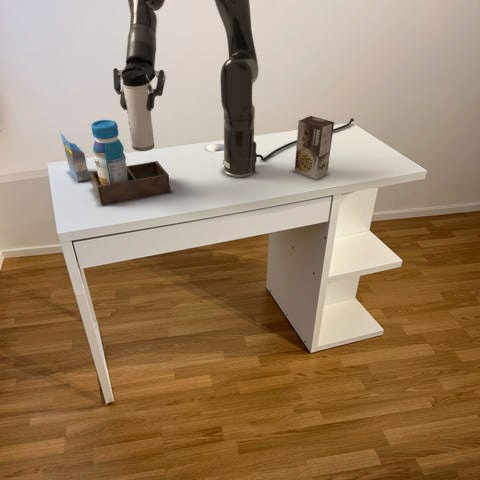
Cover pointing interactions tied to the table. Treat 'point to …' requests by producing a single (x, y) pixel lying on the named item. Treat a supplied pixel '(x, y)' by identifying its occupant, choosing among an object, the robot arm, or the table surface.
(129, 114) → the travel mug
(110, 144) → the beverage bottle
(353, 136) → the table surface
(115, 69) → the robot arm
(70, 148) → the blue hanging retail box
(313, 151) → the coffee box
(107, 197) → the caddy
